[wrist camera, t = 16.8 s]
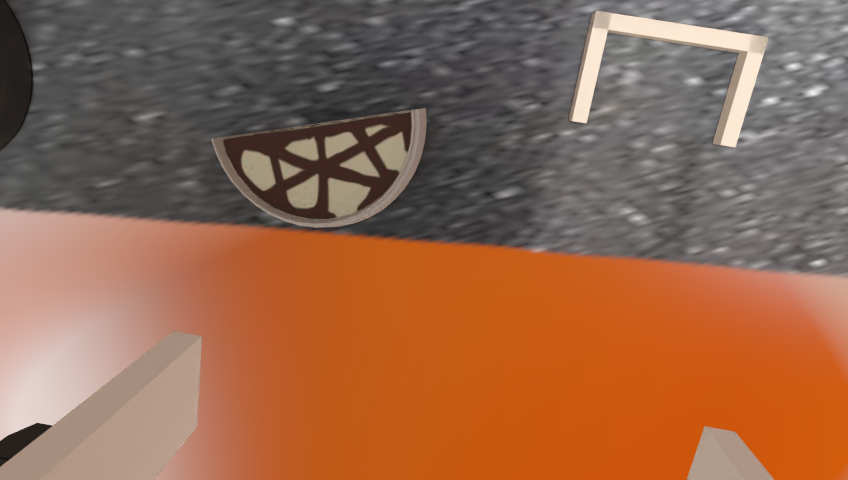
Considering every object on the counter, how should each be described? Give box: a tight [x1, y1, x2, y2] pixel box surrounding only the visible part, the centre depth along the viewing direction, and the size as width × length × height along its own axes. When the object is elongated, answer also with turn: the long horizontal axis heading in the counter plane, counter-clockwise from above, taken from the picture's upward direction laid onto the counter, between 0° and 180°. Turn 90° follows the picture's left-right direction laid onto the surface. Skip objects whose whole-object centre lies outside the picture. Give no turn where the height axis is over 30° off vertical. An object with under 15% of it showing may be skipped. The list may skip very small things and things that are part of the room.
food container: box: [212, 108, 427, 228], centre depth 35 cm, size 12×6×10 cm, turn 98°
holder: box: [569, 11, 769, 147], centre depth 36 cm, size 11×7×1 cm, turn 81°
